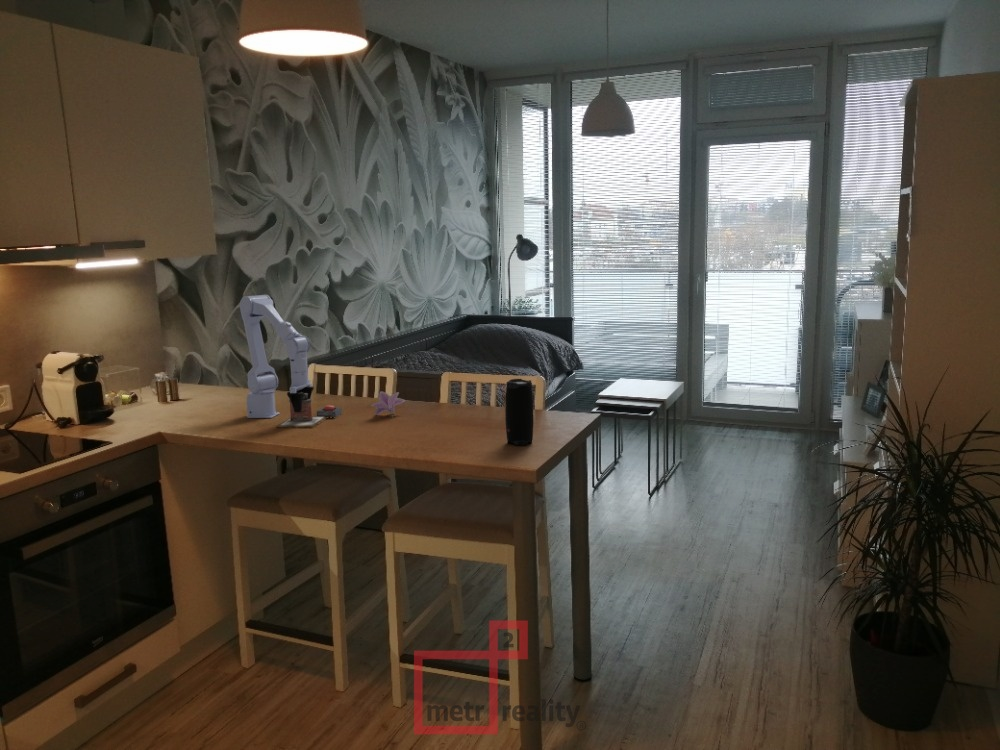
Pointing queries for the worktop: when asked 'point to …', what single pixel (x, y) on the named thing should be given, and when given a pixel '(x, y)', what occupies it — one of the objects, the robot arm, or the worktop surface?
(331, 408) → the button
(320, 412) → the button housing
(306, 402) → the lighter
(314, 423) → the board
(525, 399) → the portable speaker
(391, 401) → the lily
